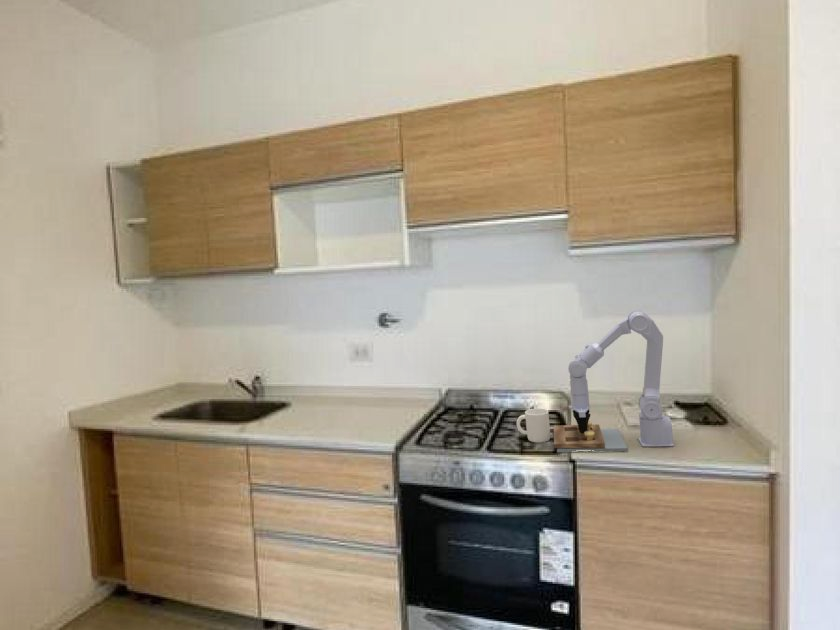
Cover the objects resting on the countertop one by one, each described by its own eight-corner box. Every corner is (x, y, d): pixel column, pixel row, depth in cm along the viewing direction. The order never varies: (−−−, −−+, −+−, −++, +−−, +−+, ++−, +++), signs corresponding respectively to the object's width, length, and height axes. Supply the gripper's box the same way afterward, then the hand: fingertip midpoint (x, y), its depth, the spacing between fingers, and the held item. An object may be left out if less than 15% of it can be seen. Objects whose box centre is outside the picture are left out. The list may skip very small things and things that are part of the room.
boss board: (619, 431, 173) (618, 417, 173) (627, 451, 154) (626, 436, 153) (556, 433, 179) (555, 419, 178) (557, 452, 160) (555, 437, 159)
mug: (515, 442, 174) (512, 414, 174) (520, 434, 182) (518, 408, 181) (548, 443, 169) (545, 415, 168) (552, 435, 176) (550, 408, 176)
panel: (599, 428, 175) (597, 413, 174) (605, 447, 155) (603, 431, 155) (554, 429, 179) (552, 415, 179) (554, 448, 160) (552, 432, 159)
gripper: (567, 389, 174) (570, 425, 175) (568, 399, 160) (572, 438, 161) (587, 388, 172) (590, 425, 173) (590, 398, 158) (594, 438, 159)
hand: (583, 431), depth 166 cm, fingers closed on panel, 2 cm apart
